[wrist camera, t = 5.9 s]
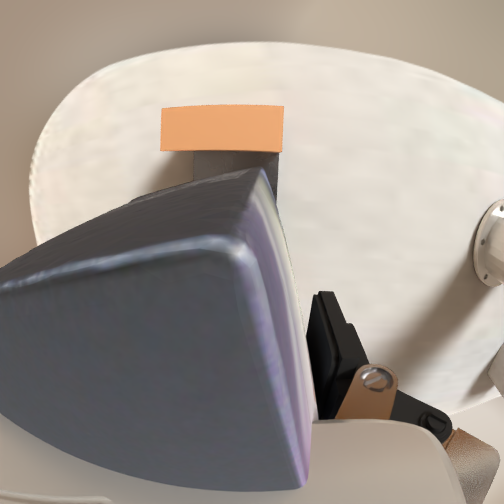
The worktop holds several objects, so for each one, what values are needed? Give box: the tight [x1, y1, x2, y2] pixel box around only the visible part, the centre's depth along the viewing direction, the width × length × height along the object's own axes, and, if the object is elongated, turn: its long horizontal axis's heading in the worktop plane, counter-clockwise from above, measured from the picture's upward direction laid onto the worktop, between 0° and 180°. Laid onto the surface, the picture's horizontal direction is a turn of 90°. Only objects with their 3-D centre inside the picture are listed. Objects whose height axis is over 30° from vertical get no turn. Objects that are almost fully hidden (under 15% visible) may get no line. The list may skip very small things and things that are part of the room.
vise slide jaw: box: [160, 105, 284, 153], centre depth 20 cm, size 8×3×8 cm, turn 88°
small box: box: [0, 166, 318, 492], centre depth 8 cm, size 11×6×10 cm, turn 13°
